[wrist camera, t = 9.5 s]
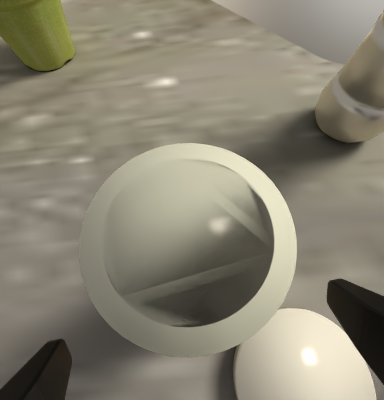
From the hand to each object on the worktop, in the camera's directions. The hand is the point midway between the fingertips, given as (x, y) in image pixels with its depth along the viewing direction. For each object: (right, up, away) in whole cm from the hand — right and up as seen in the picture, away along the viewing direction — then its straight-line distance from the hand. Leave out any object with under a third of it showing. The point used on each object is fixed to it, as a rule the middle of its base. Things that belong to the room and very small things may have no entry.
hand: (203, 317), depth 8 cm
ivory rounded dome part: (+6, -7, +7) cm, 12 cm away
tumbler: (0, -2, +9) cm, 9 cm away
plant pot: (-18, +21, +21) cm, 34 cm away
